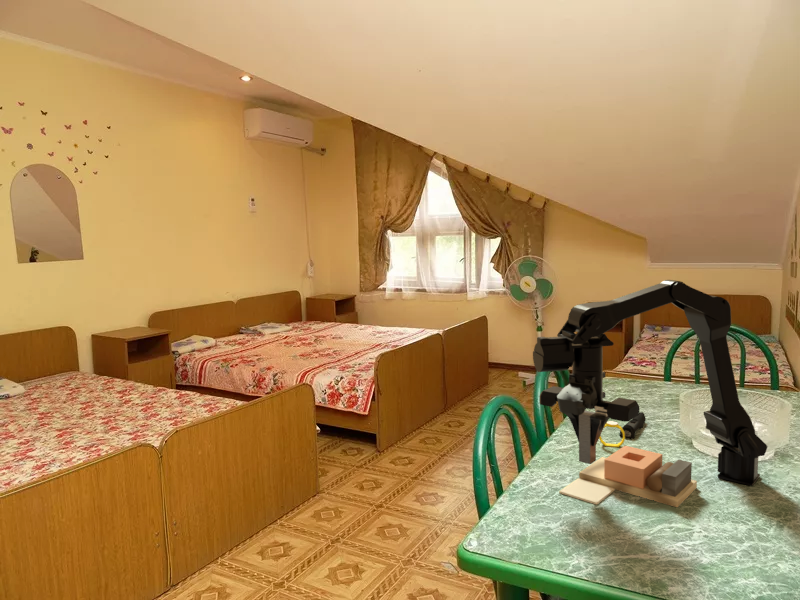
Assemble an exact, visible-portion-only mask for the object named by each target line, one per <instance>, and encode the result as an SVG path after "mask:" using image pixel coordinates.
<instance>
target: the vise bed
mask: <svg viewBox="0 0 800 600" xmlns="http://www.w3.org/2000/svg"><path fill="white" fill-rule="evenodd" d="M606 458H607V457H605V456H602V457H600V458H598V459H596V461H594V462H593V463H591V464H589V465H588V466H587V467H585V468H584V469H582V470H580V471H579V472H578V475H579V476H578V477H579V478H580V479H583V480H586V481H590V482H593V483H597V484H600V485H604V486H607V487H611V488H614V489H615V491H619V492H622V493H626V494H629V495H633V496H636V497H639V496H640V498H643V499H646V498H647V499H646V500H649V501H653V500H654V502H658V503H660V504H664V505H668V506H672V507H674V508H678V507H680V505H682V503H684V501H685V500H687V498H688V497H689V496H690V495H691V494H693V492H694V491H696V489H697V485H698V484H697V483H698V482H697V480H694V479H692V468H693V467H692V462H691V461H687V460H684V459H678V460H676V461H675V462H674V463H673V462H670V461H667V462H665V463H664V464H662V467H660V468H659V469H658V470H657V471H655V472H654V473H653V474H652V475H651V476H649V477H648V478H647V481H646V483H647V486H646V487H645V488H643V489H642V488H639V487H635V486H632V485H628V484H624V483H621V482H617V481H614V480H610V479H607V478H604V459H606Z"/></svg>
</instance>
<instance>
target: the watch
mask: <svg viewBox="0 0 800 600" xmlns="http://www.w3.org/2000/svg"><path fill="white" fill-rule="evenodd" d="M607 427H610V428H617V429H618V430H621V432H622V433H623V438H621V441H620V442H618V443H607V442H605V441H604V440H603V438H602V436H601V435H600V437H599V439H598V440H599V441H600V443H601V444H602V445H603V446H605V447H610V448H612V447H613V448H619V447H621V446H622V445H623V444H624V442H625V440H626V438H625V433H624V430H623V429H622V427H623V426H621V425H619V422H616V421H615V420H614V421H612V420H608V421H607V423H606V424H605V426H604V428H603V429H605V428H607Z"/></svg>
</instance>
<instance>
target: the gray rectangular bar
mask: <svg viewBox="0 0 800 600" xmlns="http://www.w3.org/2000/svg"><path fill="white" fill-rule="evenodd" d="M593 414H595V411H588V410H586V409H585V410H584V413H583V414H581V415H579V441H578V462H580V463H584V464H587V465H591V464H593V463H594V462H595V461H597V455H596V454H597V448H596V447H597V444H596V445H595V446H592V441H591V436H592V421H591V419H590V416H591V415H593Z"/></svg>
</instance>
